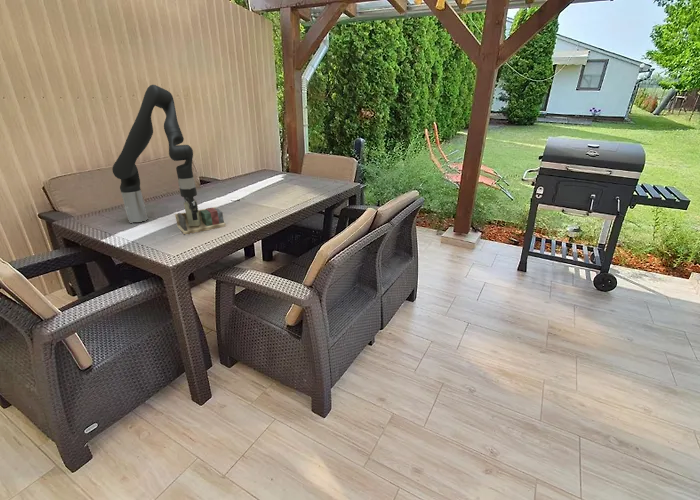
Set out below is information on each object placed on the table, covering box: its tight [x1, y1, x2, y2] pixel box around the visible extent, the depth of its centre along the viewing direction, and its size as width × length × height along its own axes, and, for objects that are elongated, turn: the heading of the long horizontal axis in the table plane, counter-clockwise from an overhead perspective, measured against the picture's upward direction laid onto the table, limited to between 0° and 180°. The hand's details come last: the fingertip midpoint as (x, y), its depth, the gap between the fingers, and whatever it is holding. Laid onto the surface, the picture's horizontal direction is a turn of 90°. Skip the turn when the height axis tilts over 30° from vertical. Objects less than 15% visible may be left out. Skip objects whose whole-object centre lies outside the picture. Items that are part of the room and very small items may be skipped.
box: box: [183, 199, 201, 226], centre depth 179 cm, size 5×4×13 cm
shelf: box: [174, 206, 227, 235], centre depth 184 cm, size 21×13×8 cm, turn 128°
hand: (193, 218), depth 180 cm, fingers open, 6 cm apart
